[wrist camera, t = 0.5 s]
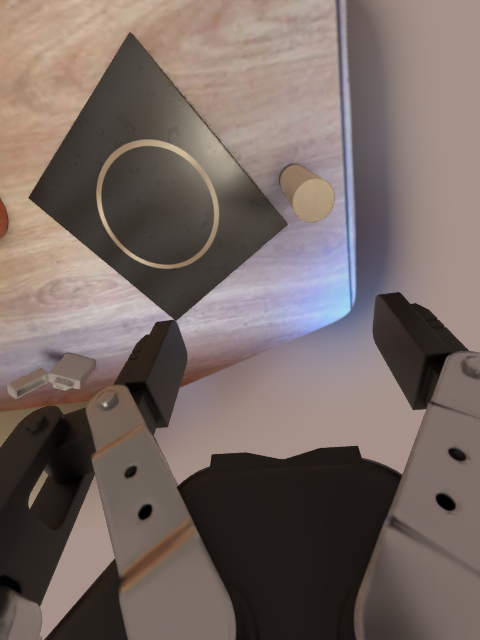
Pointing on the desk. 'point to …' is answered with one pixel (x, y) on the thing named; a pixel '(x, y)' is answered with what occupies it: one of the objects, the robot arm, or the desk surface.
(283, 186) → the cylinder
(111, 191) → the black flat square pad
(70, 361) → the lighter
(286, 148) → the desk surface
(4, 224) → the pen cup
